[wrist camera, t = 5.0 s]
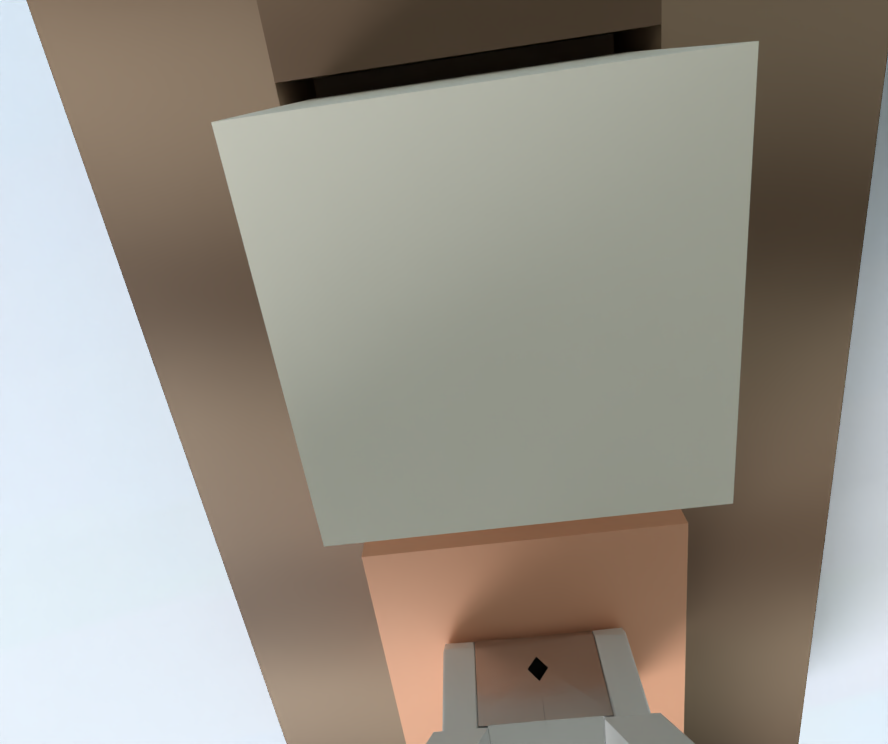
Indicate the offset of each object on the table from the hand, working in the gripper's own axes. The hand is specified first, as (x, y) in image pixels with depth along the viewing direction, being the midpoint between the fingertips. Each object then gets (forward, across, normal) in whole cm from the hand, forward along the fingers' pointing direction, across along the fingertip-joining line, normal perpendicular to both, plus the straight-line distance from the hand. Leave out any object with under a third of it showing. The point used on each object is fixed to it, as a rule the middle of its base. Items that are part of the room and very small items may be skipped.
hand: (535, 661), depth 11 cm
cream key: (+3, 0, -7) cm, 7 cm away
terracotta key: (+5, 0, 0) cm, 5 cm away
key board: (+7, 0, 0) cm, 7 cm away
